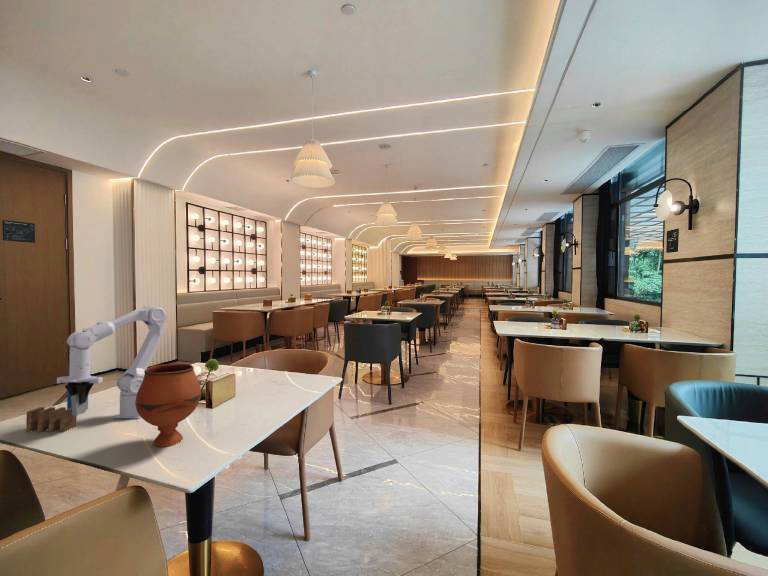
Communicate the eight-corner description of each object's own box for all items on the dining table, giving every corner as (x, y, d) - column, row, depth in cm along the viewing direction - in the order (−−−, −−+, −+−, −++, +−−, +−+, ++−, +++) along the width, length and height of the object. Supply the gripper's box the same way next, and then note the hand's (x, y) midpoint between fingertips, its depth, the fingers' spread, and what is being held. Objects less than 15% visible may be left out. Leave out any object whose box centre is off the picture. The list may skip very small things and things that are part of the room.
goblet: (172, 457, 109) (173, 376, 109) (118, 451, 112) (119, 372, 112) (212, 432, 128) (213, 363, 128) (165, 427, 131) (166, 360, 131)
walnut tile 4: (54, 426, 131) (55, 407, 131) (42, 431, 126) (42, 412, 126) (50, 426, 131) (50, 407, 131) (37, 431, 126) (37, 412, 126)
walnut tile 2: (76, 426, 131) (76, 407, 131) (64, 431, 126) (65, 412, 126) (71, 426, 131) (72, 407, 131) (59, 431, 126) (60, 412, 126)
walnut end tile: (44, 426, 131) (44, 407, 130) (31, 431, 126) (31, 412, 125) (39, 426, 130) (39, 407, 130) (26, 431, 125) (26, 411, 125)
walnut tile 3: (65, 426, 131) (65, 407, 131) (53, 431, 126) (53, 412, 126) (60, 426, 131) (61, 407, 131) (48, 431, 126) (48, 412, 126)
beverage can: (75, 415, 141) (76, 385, 141) (62, 414, 142) (63, 384, 142) (92, 410, 148) (92, 381, 147) (79, 408, 149) (79, 380, 149)
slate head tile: (88, 409, 132) (86, 390, 131) (76, 415, 127) (75, 396, 126) (83, 409, 131) (82, 390, 131) (72, 415, 126) (70, 396, 126)
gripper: (49, 367, 124) (48, 406, 124) (92, 368, 125) (91, 406, 125) (66, 363, 131) (65, 400, 131) (107, 363, 132) (106, 400, 132)
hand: (79, 402), depth 129 cm, fingers closed on slate head tile, 1 cm apart
